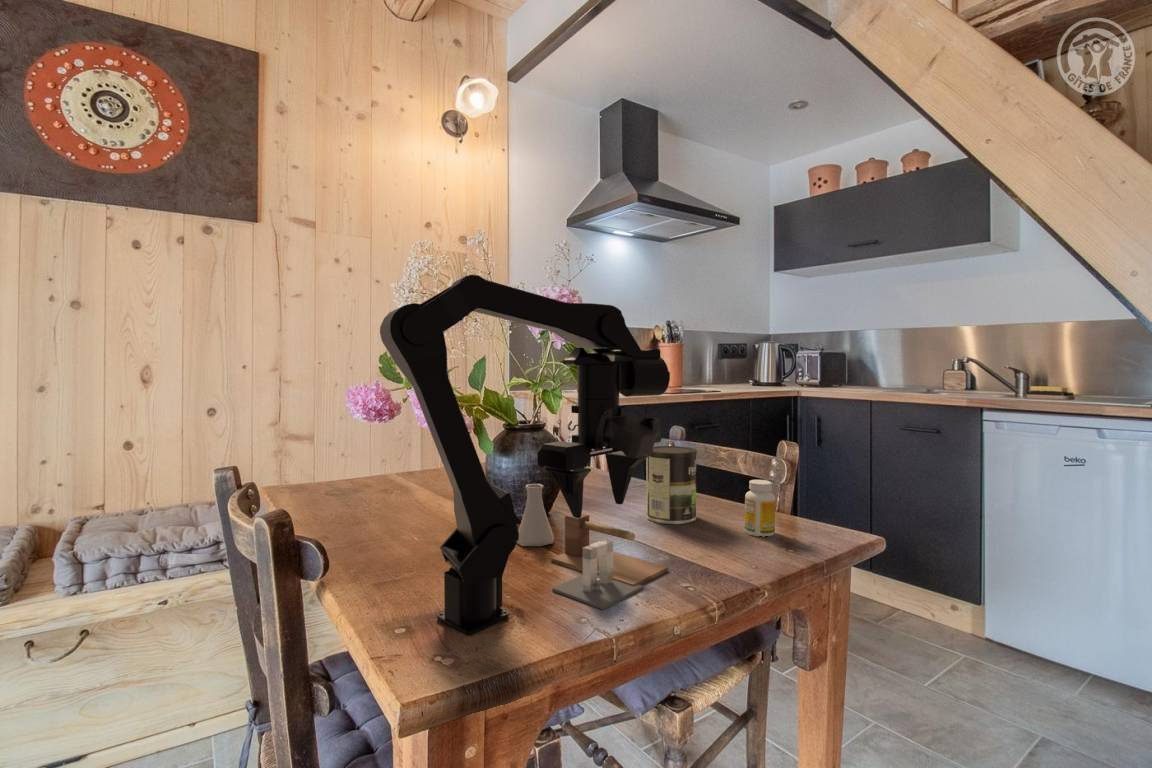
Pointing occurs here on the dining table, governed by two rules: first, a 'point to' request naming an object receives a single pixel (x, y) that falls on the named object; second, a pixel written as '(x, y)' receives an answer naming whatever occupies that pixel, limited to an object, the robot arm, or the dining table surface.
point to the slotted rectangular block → (590, 555)
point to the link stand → (623, 565)
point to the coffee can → (671, 485)
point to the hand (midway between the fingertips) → (599, 510)
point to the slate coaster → (597, 592)
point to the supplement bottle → (760, 509)
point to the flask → (535, 520)
